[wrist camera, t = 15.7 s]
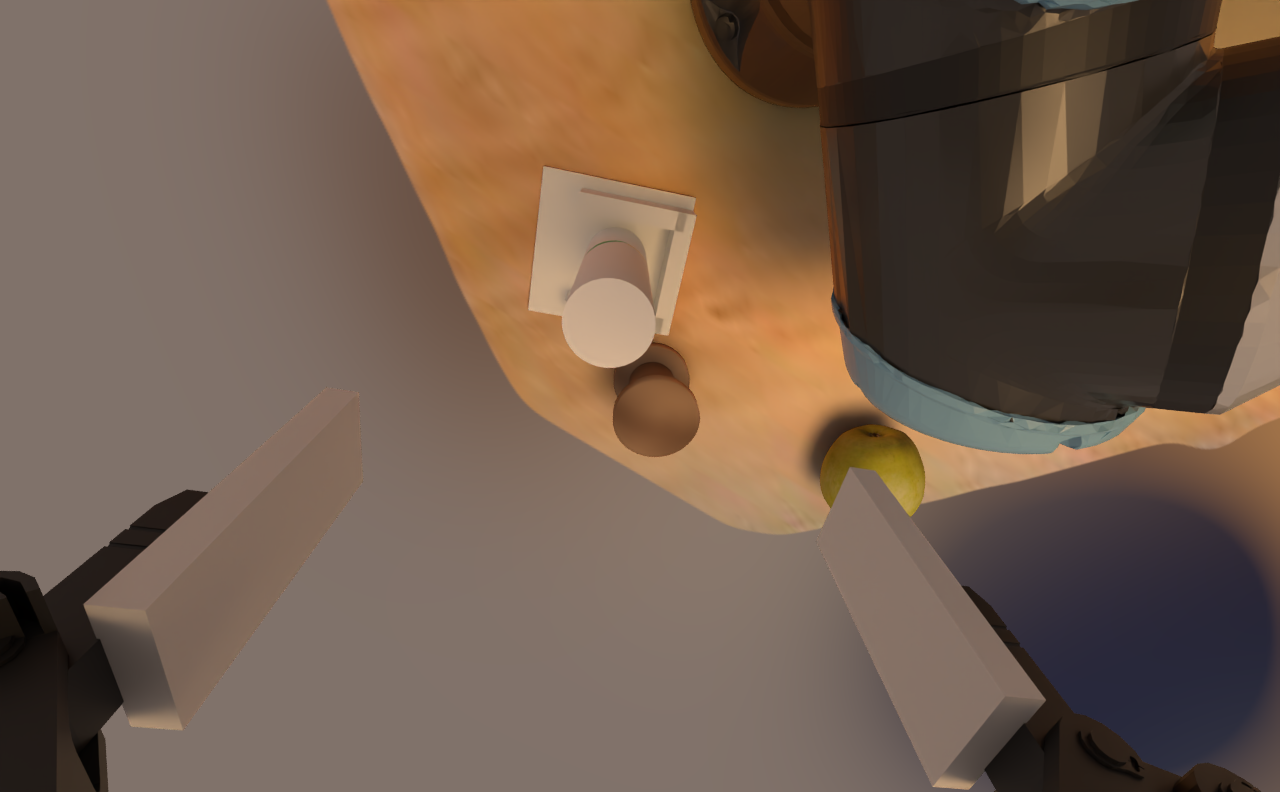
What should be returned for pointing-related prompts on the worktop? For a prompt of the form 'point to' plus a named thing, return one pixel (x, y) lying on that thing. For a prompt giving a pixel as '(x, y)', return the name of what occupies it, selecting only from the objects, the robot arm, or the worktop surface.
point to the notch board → (596, 204)
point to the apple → (876, 463)
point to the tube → (611, 302)
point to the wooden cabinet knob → (655, 403)
